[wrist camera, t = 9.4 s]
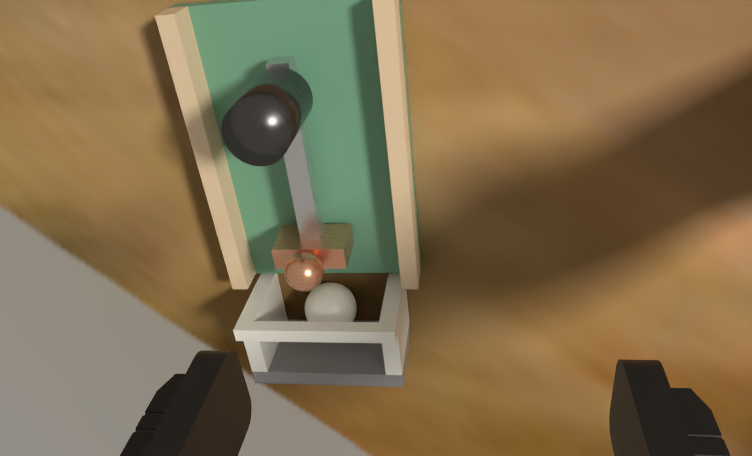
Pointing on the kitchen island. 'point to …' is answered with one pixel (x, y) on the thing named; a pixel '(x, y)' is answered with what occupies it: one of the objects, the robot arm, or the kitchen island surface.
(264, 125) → the striker
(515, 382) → the kitchen island surface
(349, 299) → the ball
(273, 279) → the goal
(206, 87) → the pitch
